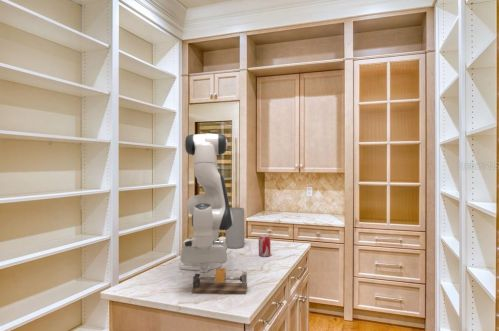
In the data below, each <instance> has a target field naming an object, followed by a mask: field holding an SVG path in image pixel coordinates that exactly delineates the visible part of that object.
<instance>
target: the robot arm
mask: <svg viewBox="0 0 499 331" xmlns="http://www.w3.org/2000/svg"><path fill="white" fill-rule="evenodd" d="M183 144H184V149H185V152H186V153H187V154H188V155H191V156H194V157H193V173H194V176H195V177H194V178H196V182H197V184H198V185H199V186H201V187H202V189H203V191H204V193H200V194H196V195H192V196H190V197H189V198H188V199H187V201H186V210H187V212H188V214H190V215H191V226H192V228H193V233H192V236H191V237H189V238H186V239H185V240H183V242H182V248H181V250H180V264H179V266H178V269H180V270H188V271H199V272H200V274H207V273H208V272H209V271H211V270H214V269H215V270H216V269H217V268H221V267H222V265H223V264H224V263H226V262H227V260H228V256H227V254H228V253H227V250H228V247H227V244H226V241H224V240H220V239H219V230H220V231H225V230H228V229H229V228H230V227H231V226H232V224H233V215H232V212H231V210H230V208H231V207H230V201H229V196H228V190H227V186H226V181H225V178H224V175H222V174H220V172H219V168H218V156H219V157H221V155H223V154H225V153H226V152H227V149H228V146H229V141H228V139H227V136H226V135H225V134H222V133H210V132H209V133H208V132H206V133H196V134H188V135H187V136H186V137H185V140H184V143H183ZM217 155H218V156H217Z"/></svg>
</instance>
